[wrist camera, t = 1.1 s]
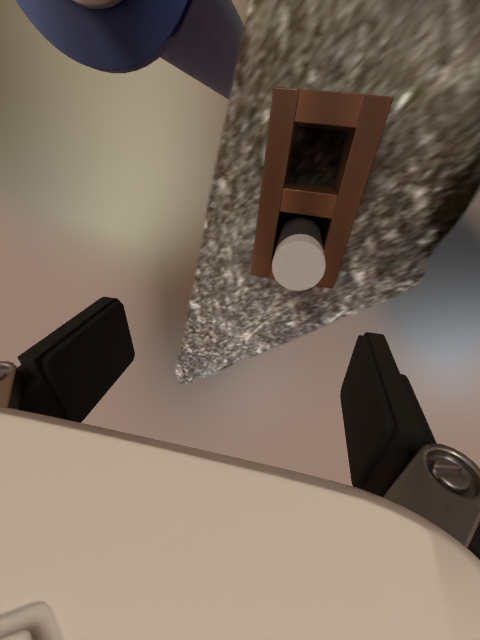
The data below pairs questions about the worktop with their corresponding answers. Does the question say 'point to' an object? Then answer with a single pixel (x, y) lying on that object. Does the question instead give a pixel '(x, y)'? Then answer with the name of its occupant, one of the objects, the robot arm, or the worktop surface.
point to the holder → (307, 199)
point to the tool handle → (299, 253)
